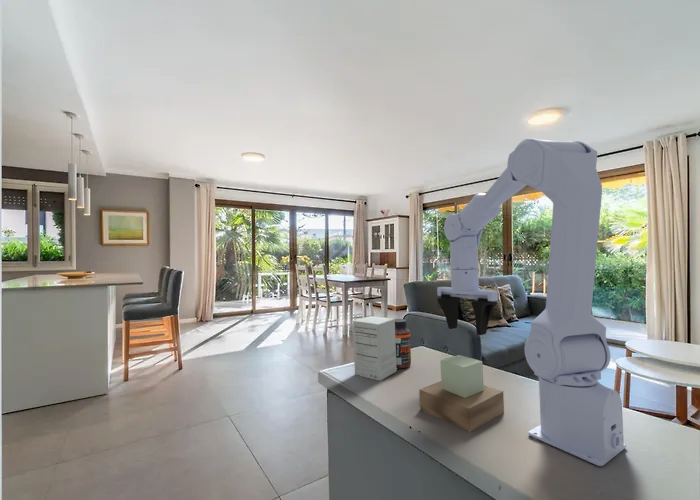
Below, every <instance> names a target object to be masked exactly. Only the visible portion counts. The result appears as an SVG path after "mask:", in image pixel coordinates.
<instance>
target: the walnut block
mask: <svg viewBox="0 0 700 500" xmlns="http://www.w3.org/2000/svg"><path fill="white" fill-rule="evenodd" d="M418 392H419V410H421V411H422V412H424V413H427V414H428V415H431V416H433V417H435V418H437V419H440V420H442V421H445V422H447V423H450V424H451V425H454V426H455V427H458V428H461V429H462V430H465V431H467V432H469V433H471V432H473V431H475V430H477V429H478V428H480V427H481V426H483V425H485V424H487V423H488V422H490V421H492V420H493V419H495V418H497V417H499V416H501V415H503V414H504V413H505V404H504V403H505V402H504V390H501V389H497V388H494V387H491V386H487V385H484V391H481V392H479V393H476V394H474V395H471V396H469V397H466V398H464V397H462V396H459V395H457V394H454V393H451V392H449V391H446V390H444V389H442V386H441V380H440V381H437V382H435V383H433V384H430V385H427V386H425V387H422V388H420V389H419V391H418Z"/></svg>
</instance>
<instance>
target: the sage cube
mask: <svg viewBox="0 0 700 500" xmlns="http://www.w3.org/2000/svg"><path fill="white" fill-rule="evenodd" d="M439 361H440V362H439V363H440V381H441V386H442V389H444V390H446V391H449V392H451V393H454V394H457V395H459V396H462V397H464V398H466V397H469V396H471V395H474V394H476V393H479V392H481V391H484V384H485V383H484V365H483V361H482V360H479V359H475V358H472V357H468V356H464V355H460V354H457V355H454V356H450V357H448V358H447V357H446V358H444V359H440V360H439Z"/></svg>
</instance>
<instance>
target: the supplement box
mask: <svg viewBox="0 0 700 500" xmlns="http://www.w3.org/2000/svg"><path fill="white" fill-rule="evenodd" d="M395 319H396V318H391V317H383V316H373V315H371V316H366V317H362V318H360V319H355V320H353V321H352V332H353V334H352V335H353V358H354V361H353V362H354V363H353V364H354V375H356V376H358V375H360V376H359V377H362V376H364V377H363V378H366V377H367V379H370V378H372V379H371V380H374V379H376V380H375V381H380V382H382V381H383V380H385V379H386V378H387V377H389V376H391V375H393V374H394V373H396V372H397V368H396V342H395Z"/></svg>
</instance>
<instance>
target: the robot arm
mask: <svg viewBox="0 0 700 500" xmlns="http://www.w3.org/2000/svg"><path fill="white" fill-rule="evenodd" d="M508 154H509V155H508V158H507V167H506V168H505V169H504V171H503V172H502V173H501V174H500V176H499V177H497V179H496V180H495V181H494V183H493V184H492V185H491V186H490V188H488V190H487V191H486V192H481V193H475V194H474V195H473V196H472V199H471V200H470V201H469V202H468V203H467V204H466V205H464V207H463V208H462V209H461V210H460V211H459V212H455V213H449V214H448V216H447V217H446V219H445V220H444V225H443V232H444V235H445V238H446V239H447V240H448V241H449V253H450V254H449V255H450V259H449V260H450V281H451V284H450V285H451V287H449V286H438V287H436V288H437V289H436V291H437V296H438V298H437V299H436V300H437V303H438V304H439V306H440V308H441V309H442V311H443V314H444V316H445V320H446V324H447V327H448V329H450V330H452V329H457V328H458V325H459V324H458V320H459V319H458V312H459V311H458V310H459V304H460V300H461V298H463V299H472V300H473V299H474V300H473V301H470V302H471V306H472V309H473V313H474V317H475V327H476V328H475V330H476V334H477V335H478V336H483V335H486V334H487V330H488V325H489V321H490V319H491V315H492V313H493V312H494V309H495V307H497V304H498V303H497V302H498V300H499V297H498V295H499V293H498V290H489V289H483V288H480V284H479V283H480V280H479V279H480V278H479V253H478V250H479V249H478V248H479V247H480V245H481V242H480V241H481V237H482V235H483V232H484V231H483V230H484V227H486V226H487V225H488V224H489V223H490V222H492V221H493V220H494V219H495V218H496V217H497V216H498V215H500V212H501V206H502V204H504V203H505V202H506V201H508V200H509V199H510V198H512V197H513V196H515V195H516V194H517V193H519V192H520V191H522V189H524V188H525V187H526V186H529V187H531V188H534V189H536V190H539V191H541V193H543V194H544V195H545V197H547V198H548V199H549V200H550V201H551V203H552V216H551V219H552V220H551V231H550V244H549V246H550V247H549V259H548V270H547V271H548V273H547V287H546V297H545V298H546V301H545V308H544V310H543V311H541V313H540V314H538V316H536V317H535V318H534V320H532V321H531V323H530V332H529V334H528V336H527V338H526V340H525V343H524V356H525V359H526V362H527V365H528V366H529V367H530V369H531V370H532V371H533V372H534V373H533V374H534V375H535V377H536V376H537V378H538V392H539V417H540V418H539V419H540V424H539V425H537V426H536V427H534V428H531V429H530V430H528V431H527V434H528V435H529V436H530V437H532V438H534V439H537V440H539V441H542V442H543V443H546V444H548V445H550V446H552V447H555V448H557V449H559V450H561V451H564V452H566V453H568V454H571V455H573V456H575V457H577V458H579V459H581V460H585V461H586V462H589V463H591V464H594V465H596V466H598V467H603V466H604V465H606V464H607V463H608V462H610V461H611V460H612V459H613V458H614V457H616V456H617V455H618V454H620V452H622V451H623V450H625V449H626V448H627V444H626V443H625V441H624V424H623V423H624V422H623V421H624V419H623V405H622V399H621V396H620V394H619V392H618V391H617V390H615V389H612V388H609V387H607V386H605V385H603V384H602V383H600V382H599V381H598V380H602V372H604V371H605V370H606V369H607V368H608V366H609V365H610V361H611V352H610V348H609V344H608V342H607V335H606V333H607V327H606V326H605V325H604V324H603V323H602V322H600V321H599V319H597V318H596V317H594V316H593V315H592V309H593V297H594V286H595V276H596V275H595V274H596V266H597V253H598V251H597V250H598V240H599V232H600V231H599V230H600V218H601V207H602V195H603V184H602V182H601V179H600V176H599V173H598V170H597V161H598V151H597V150H595V148H593V147H591V146H589V144H587V143H585V142H583V141H579V140H578V141H577V140H576V141H563V140H549V139H547V140H546V139H537V138H533V137H531V138H530V137H529V138H525V139H523V140H522V141H520V142H519V143H518V145H516V147H515V148H514V150H513V151H511V152H510V153H508Z"/></svg>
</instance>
